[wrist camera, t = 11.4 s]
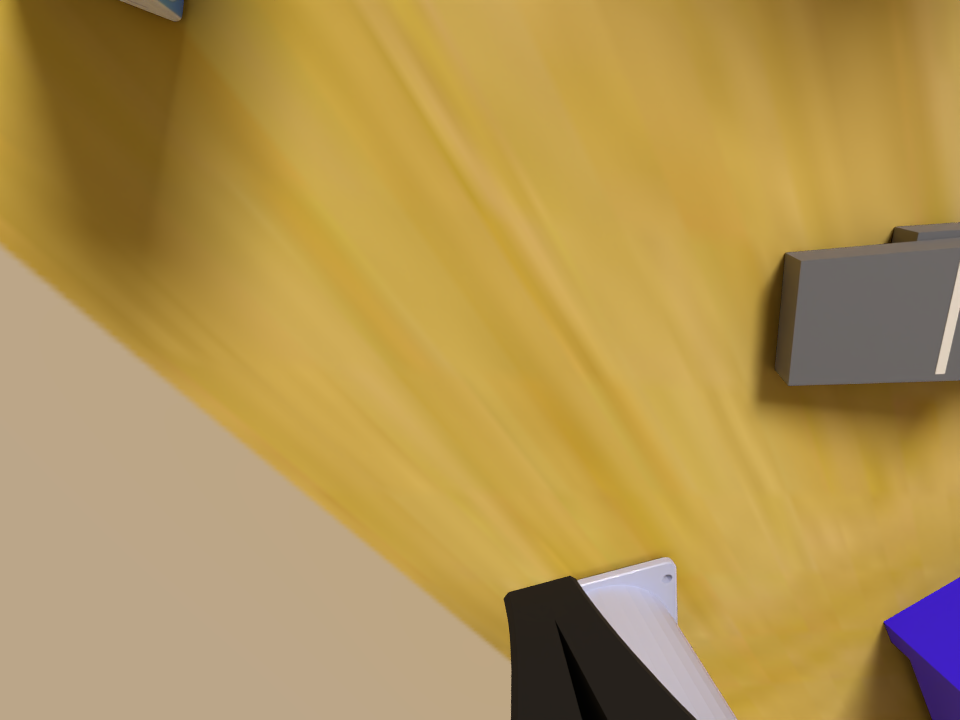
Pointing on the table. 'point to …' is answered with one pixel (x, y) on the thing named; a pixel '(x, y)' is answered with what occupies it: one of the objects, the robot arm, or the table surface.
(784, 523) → the table surface
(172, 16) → the medicine box
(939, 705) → the bracket
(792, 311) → the domino
